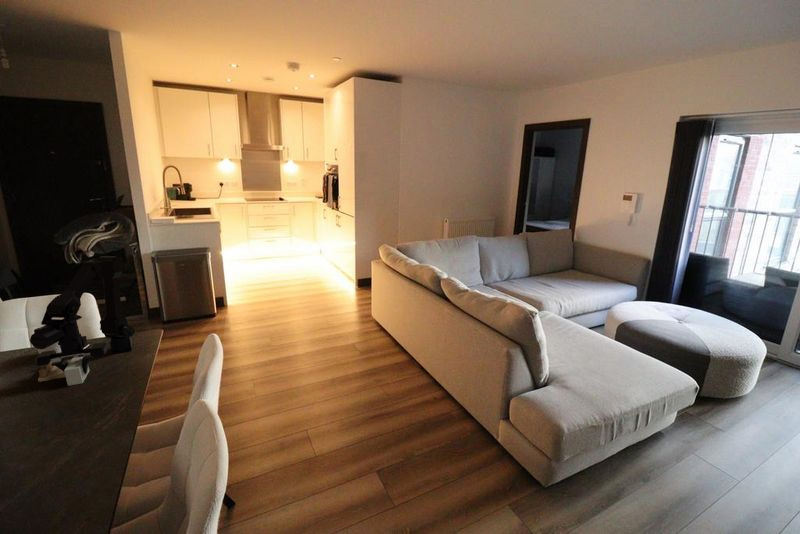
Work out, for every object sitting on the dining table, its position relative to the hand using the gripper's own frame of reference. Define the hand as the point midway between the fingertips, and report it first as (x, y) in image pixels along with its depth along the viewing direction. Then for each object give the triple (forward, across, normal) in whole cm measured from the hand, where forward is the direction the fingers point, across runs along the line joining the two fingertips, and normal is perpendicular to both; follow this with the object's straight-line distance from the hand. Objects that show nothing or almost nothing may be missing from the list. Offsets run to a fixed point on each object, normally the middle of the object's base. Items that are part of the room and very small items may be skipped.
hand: (78, 374), depth 133 cm
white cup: (+2, +14, -24) cm, 28 cm away
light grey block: (+1, 0, 0) cm, 1 cm away
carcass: (+1, +7, -9) cm, 11 cm away
